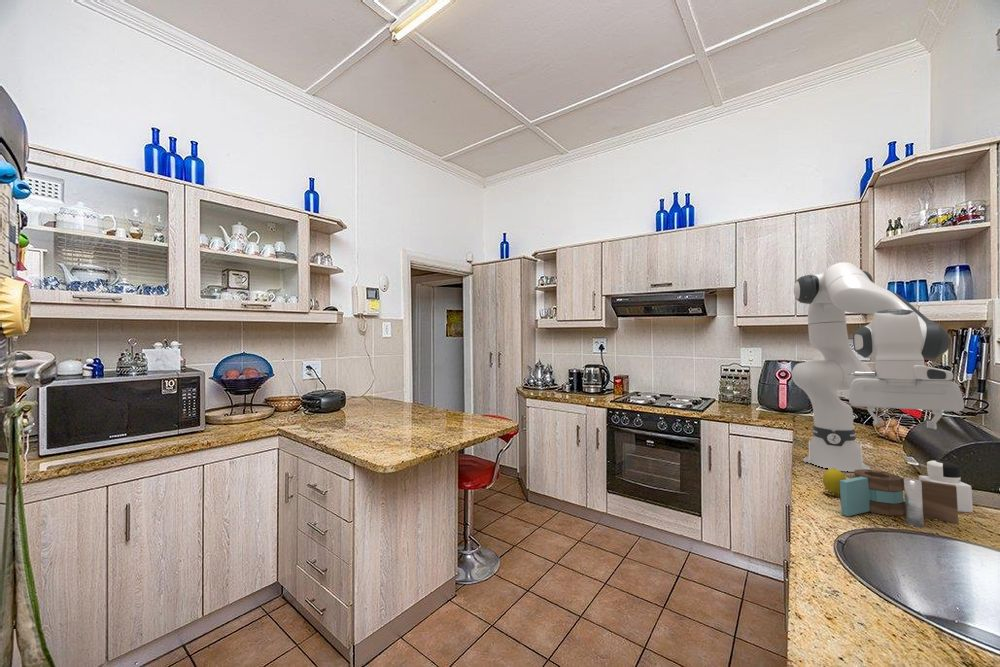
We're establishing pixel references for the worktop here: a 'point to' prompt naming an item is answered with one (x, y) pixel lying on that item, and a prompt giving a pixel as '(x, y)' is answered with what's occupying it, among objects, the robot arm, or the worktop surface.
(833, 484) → the lemon
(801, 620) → the worktop surface
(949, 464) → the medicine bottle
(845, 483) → the hinge swing leaf
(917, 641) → the worktop surface
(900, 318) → the robot arm
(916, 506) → the steel pin
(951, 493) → the hinge fixed leaf
